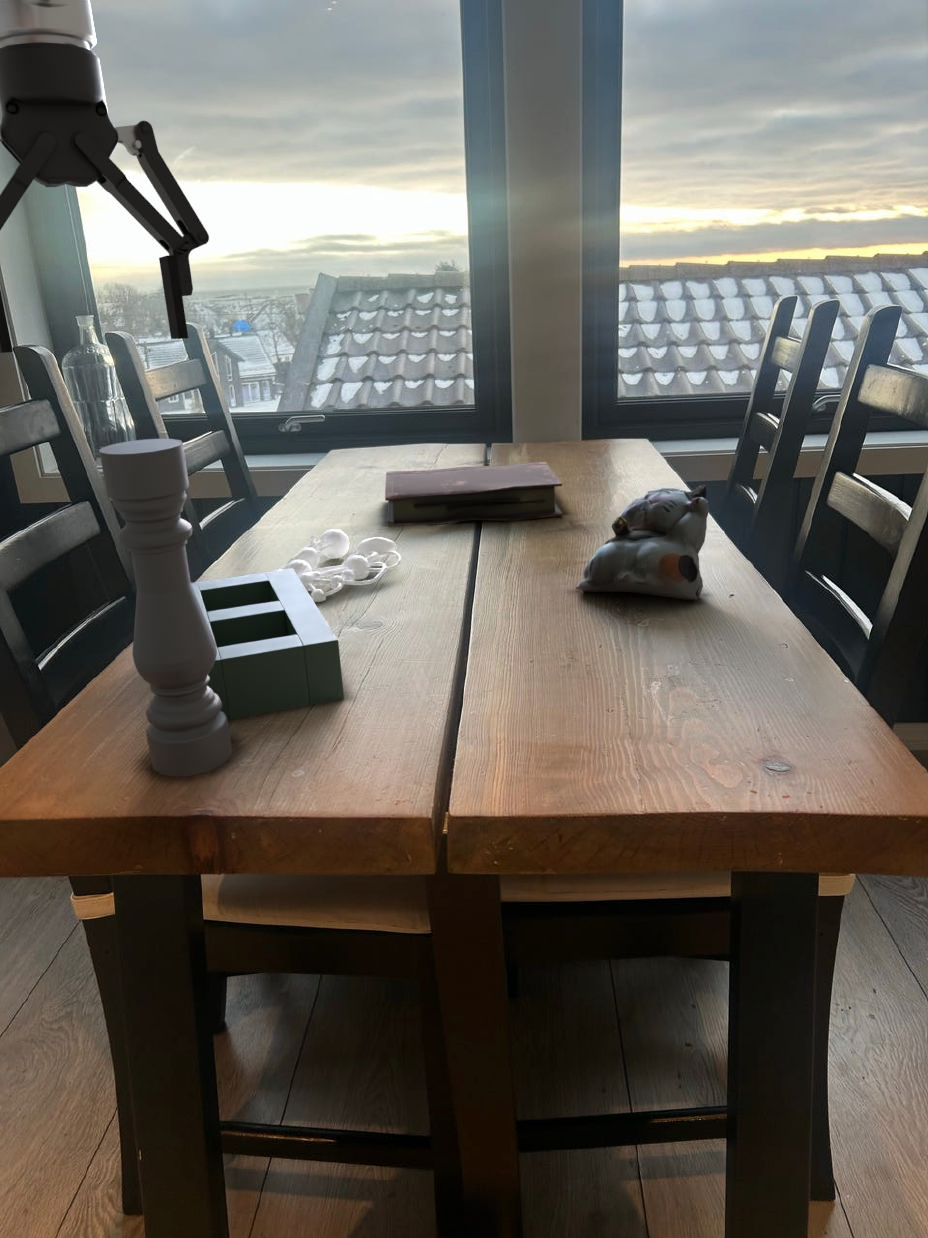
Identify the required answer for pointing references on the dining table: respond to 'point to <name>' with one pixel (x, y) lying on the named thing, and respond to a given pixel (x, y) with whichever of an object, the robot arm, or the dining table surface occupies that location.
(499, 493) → the diary
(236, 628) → the rack
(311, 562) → the tangled rod sculpture
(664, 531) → the lucky cat figurine
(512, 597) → the dining table surface
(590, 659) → the dining table surface
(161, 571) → the candle holder
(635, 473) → the dining table surface
